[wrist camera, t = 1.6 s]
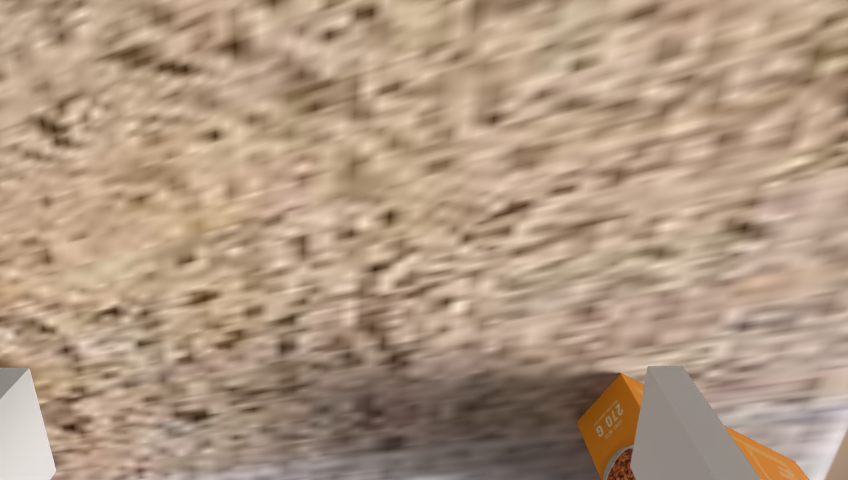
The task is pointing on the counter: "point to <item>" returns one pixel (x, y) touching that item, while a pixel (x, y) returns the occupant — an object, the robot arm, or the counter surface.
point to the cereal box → (616, 429)
